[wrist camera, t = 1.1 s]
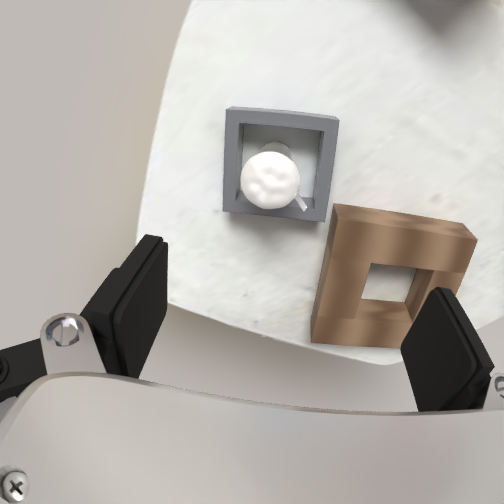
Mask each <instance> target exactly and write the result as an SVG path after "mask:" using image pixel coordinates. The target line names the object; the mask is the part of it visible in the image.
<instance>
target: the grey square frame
mask: <svg viewBox="0 0 504 504" xmlns="http://www.w3.org/2000/svg"><path fill="white" fill-rule="evenodd" d="M244 123H246V124H260V125H272V126H283V127H293V128H302V129H310V130H318V131H321V136H320V145H319V153H318V162H317V170H316V177H315V185H314V192H313V198H305V197H301V199H302V200H303V201H304V203H305V204H306V206H307V209H306V211H305V212H303V210H302V209H301V207H300V206H299V204H298V203H297V201H296V200H295V198H294V199H293V200H292V201H291V202H290V203H289V204H287V205H286V206H284V207H281V208H276V209H263V208H260V207H258V206H256V205H255V204H253V203H252V202H250V201H249V200H248V199H247V198H246V197H245V195H244V193H243V191H240V184H241V181H240V178H241V163H242V144H243V125H244ZM338 128H339V119H337V118H336V117H334V116H327V115H320V114H312V113H304V112H295V111H285V110H274V109H262V108H247V107H230V108H228V109H226V122H225V148H224V178H223V211H224V212H234V213H245V214H254V215H264V216H273V217H283V218H292V219H300V220H309V221H318V222H325V218H326V212H327V205H328V199H329V193H330V186H331V180H332V173H333V166H334V158H335V151H336V144H337V136H338Z"/></svg>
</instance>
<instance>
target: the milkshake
mask: <svg viewBox="0 0 504 504" xmlns="http://www.w3.org/2000/svg"><path fill="white" fill-rule="evenodd" d="M240 181H241V188H242V191H243V193H244V195H245V197H246V198H247V199H248V200H249V201H250V202H252V203H253V204H255V205H256V206H258V207H260V208H263V209H276V208H281V207H284V206H286V205H287V204H289V203H290V202H291V201H292V200H293V199H294V198H295V200H296V201H297V203H298V204H299V206H300V207H301V209H302V210H303V212H305V211H306V209H307V206H306V204H305V203H304V201H303V200H302V199H301V197H300V196H299V194H298V191H299V188H300V174H299V171H298V169H297V167H296V164H295V162H294V159H293V156H292V154H291V151H290V149H289V147H288V146H286V145H284V144H283V143H281V142H270V143H268V144H267V145H265V146H264V147H263V148H262V149H261V150H260V151H259V152H258V153H257V154H255V155H254V156H253V157H252V158H250V159H249V160H248V161H247V162H246V164H245V165H244V167H243V169H242V172H241V178H240Z"/></svg>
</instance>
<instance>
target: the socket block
mask: <svg viewBox="0 0 504 504" xmlns="http://www.w3.org/2000/svg"><path fill="white" fill-rule="evenodd" d="M477 241H478V240H477V239H476V237H475V236H474V235H473V234H472V233H471V232H470V231H469V230H468V229H467V228H466V227H465V225H464V224H462V223H456V222H451V221H445V220H440V219H434V218H428V217H422V216H416V215H410V214H404V213H398V212H392V211H385V210H378V209H372V208H365V207H358V206H350V205H343V204H335V203H334V204H333V210H332V216H331V222H330V227H329V233H328V238H327V244H326V249H325V254H324V259H323V265H322V270H321V275H320V279H319V284H318V289H317V294H316V298H315V303H314V307H313V312H312V316H311V343H323V344H335V345H349V346H365V347H384V348H401V344H402V341H403V340H404V338H405V336H406V335H407V333H408V331H409V329H410V328H411V326H412V324H413V322H414V320H415V319H416V317H417V315H418V313H419V311H420V309H421V307H422V306H423V304H424V302H425V300H426V298H427V296H428V294H429V292H430V291H431V290H434V288H435V287H443V288H449V289H451V290H452V292H453V293H454V295H456V293H457V291H458V289H459V286H460V284H461V282H462V279H463V277H464V275H465V272H466V270H467V267H468V265H469V262H470V259H471V257H472V254H473V252H474V249H475V246H476V243H477ZM371 263H377V264H385V265H394V266H403V267H412V268H417V271H416V274H415V277H414V280H413V282H412V285H411V288H410V290H409V293H408V296H407V298H406V301H405V302H392V301H381V300H369V299H361V296H362V293H363V289H364V286H365V283H366V279H367V276H368V272H369V269H370V265H371Z"/></svg>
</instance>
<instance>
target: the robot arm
mask: <svg viewBox="0 0 504 504" xmlns="http://www.w3.org/2000/svg"><path fill="white" fill-rule="evenodd" d="M167 271H168V243H167V242H163V238H162V237H159V236H153V235H148V234H146V235H144V237H143V238H142V239H141V240H140V242H139V243H138V244H137V246H136V247H135V248H134V249H133V251H132V252H131V253H130V255H129V256H128V257H127V259H126V260H125V261H124V263H123V264H122V265H121V267H120V268H115V269H113V270H112V271H111V273H110V274H109V275H108V277H107V278H106V279H105V280H104V282H103V283H102V285H101V286H100V287H99V288H98V290H97V291H96V293H95V294H94V295H93V297H92V298H91V299H90V301H89V302H88V304H87V305H86V306H85V308H84V309H83V311H82V312H81V313H80V315H77V314H73V313H62V314H58V315H55V316H53V317H51V318H50V319H48V320H47V321H46V322H45V323H44V324H43V326H42V329H41V331H40V338H39V339H36V340H32V341H29V342H26V343H22V344H19V345H16V346H12V347H9V348H6V349H2V350H0V504H504V374H503V373H496V374H494V375H493V376H492V377H490V374H489V373H490V372H491V371H492V370H493V368H494V367H495V366H494V364H493V362H492V361H491V358H490V357H489V355H488V353H487V351H486V349H485V347H484V345H483V343H482V342H481V340H480V338H479V336H478V334H477V332H476V330H475V329H474V327H473V325H472V323H471V322H470V320H469V318H468V316H467V315H466V313H465V311H464V310H463V308H462V306H461V305H460V303H459V301H458V300H457V298H456V297H455V295H454V293H453V292H452V290H451V289H449V288H443V287H435V288H434V290H431V291H430V292H429V294H428V296H427V298H426V300H425V302H424V304H423V306H422V307H421V309H420V311H419V313H418V315H417V317H416V319H415V320H414V322H413V324H412V326H411V328H410V329H409V331H408V333H407V335H406V336H405V338H404V340H403V341H402V344H401V354H402V357H403V360H404V363H405V366H406V370H407V373H408V376H409V380H410V383H411V387H412V390H413V393H414V397H415V400H416V404H417V408H418V412H371V411H369V412H368V411H348V410H330V409H318V408H307V407H297V406H287V405H279V404H270V403H264V402H256V401H249V400H243V399H236V398H230V397H225V396H219V395H214V394H208V393H203V392H197V391H192V390H187V389H182V388H177V387H173V386H168V385H164V384H159V383H155V382H150V381H145V380H140V379H138V378H139V376H140V373H141V371H142V368H143V366H144V364H145V361H146V359H147V356H148V354H149V352H150V349H151V347H152V345H153V342H154V340H155V338H156V336H157V333H158V331H159V329H160V326H161V324H162V322H163V320H164V317H165V315H166V311H167Z"/></svg>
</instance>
